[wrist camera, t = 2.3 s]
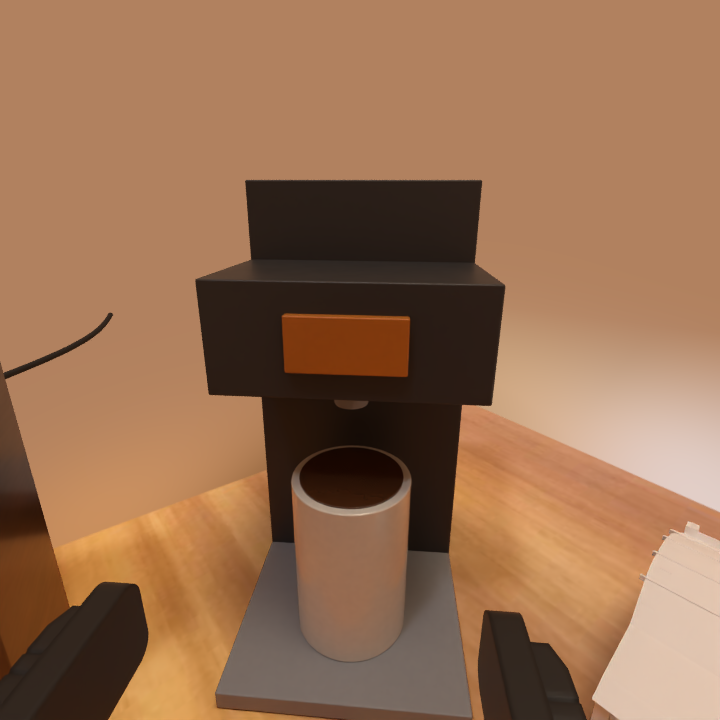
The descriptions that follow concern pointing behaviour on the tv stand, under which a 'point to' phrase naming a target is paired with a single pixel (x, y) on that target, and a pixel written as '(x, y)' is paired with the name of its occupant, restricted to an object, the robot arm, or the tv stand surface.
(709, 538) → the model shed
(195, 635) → the tv stand surface
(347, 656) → the white cup
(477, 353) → the coffee machine
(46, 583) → the brown box
